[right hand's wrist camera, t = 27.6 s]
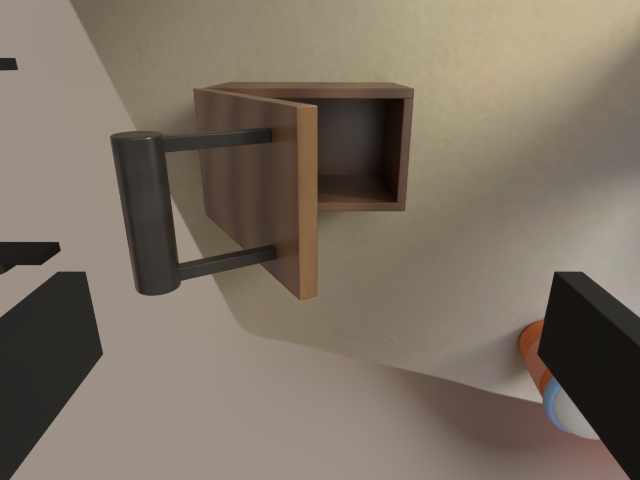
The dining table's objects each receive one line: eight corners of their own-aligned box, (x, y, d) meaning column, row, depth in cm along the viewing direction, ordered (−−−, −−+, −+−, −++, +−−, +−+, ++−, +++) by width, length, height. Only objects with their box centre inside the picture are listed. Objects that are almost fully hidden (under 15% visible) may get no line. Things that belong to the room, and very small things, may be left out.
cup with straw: (503, 373, 56) (580, 503, 40) (509, 310, 53) (595, 424, 36) (576, 368, 56) (684, 497, 40) (586, 305, 53) (709, 417, 36)
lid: (317, 105, 20) (115, 115, 16) (317, 295, 24) (152, 342, 20) (207, 88, 34) (81, 91, 30) (218, 212, 37) (107, 229, 33)
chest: (392, 82, 44) (414, 88, 34) (387, 180, 48) (405, 211, 38) (229, 82, 44) (202, 87, 34) (235, 179, 47) (213, 211, 38)
